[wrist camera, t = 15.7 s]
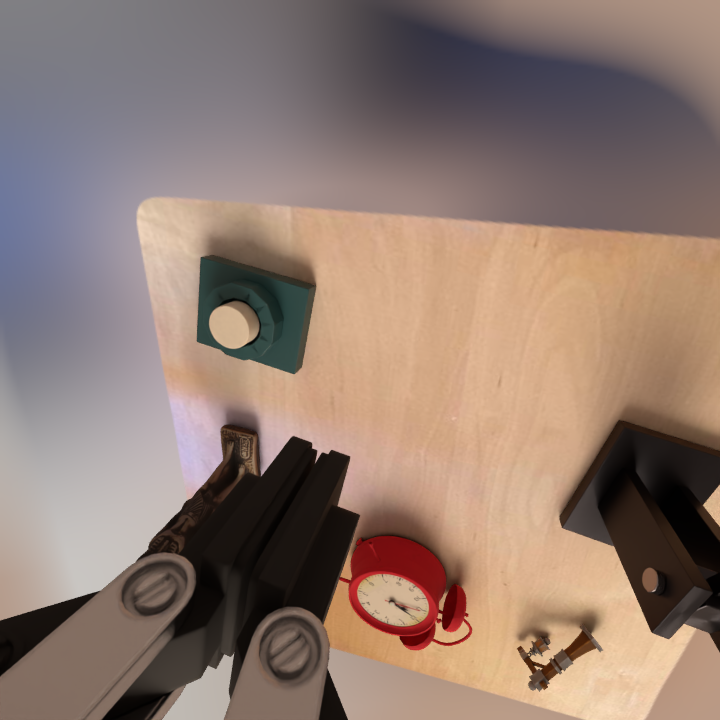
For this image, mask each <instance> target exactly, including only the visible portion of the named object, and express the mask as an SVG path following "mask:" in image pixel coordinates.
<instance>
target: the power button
mask: <svg viewBox="0 0 720 720" xmlns="http://www.w3.org/2000/svg"><path fill="white" fill-rule="evenodd" d="M209 327H210V330H211V333H212V335H213V337H214V338H215V339H216V341H217V342H219V343H220V344H221V345H223V346H224V347H227V348H231V349H236V348H240V347H242V346H244V345H245V344H247V343H248V342H250V341H252V340H253V339H254V338H255V337H256V336H257V334H258V332H259V319H258V316H257V314H256V313H255V311H254V310H253V309H252V308H251V307H250V306H249V305H247V304H246V303H243V302H240V301H232V302H229V303H227V304H224V305H222V306H219V307H217V308H216V309H214V311H213V312H212V313H211V315H210V319H209Z"/></svg>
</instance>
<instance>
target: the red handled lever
mask: <svg viewBox="0 0 720 720" xmlns="http://www.w3.org/2000/svg"><path fill="white" fill-rule="evenodd" d="M696 566H697V568H698V569H699V571H700V572H701V574H702V575H703V577H704V579H705V580H706V582H707V583H708V585H709V586H710V588H711V590H712V591H713V594H712V595H711V596H710V597H709V598H708V599H707V600H706V601H705V602H704V603H703V604H702V605H701V606H700V607H699V608H698V609H697V610H696V611H695V613H694V614H693V615H692V616H691V617H690V618H689V619H688V620H687V621H686V622H685V623H684V624H686V625H689V626H692V627H694V628H697V629H700V630H702V631H705V632H708V633H714V632H717V631H720V572H719V573H718V572H715V571H712V570H709V569H706V568H703V567H701V566H698V565H696Z"/></svg>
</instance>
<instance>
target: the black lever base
mask: <svg viewBox="0 0 720 720" xmlns="http://www.w3.org/2000/svg"><path fill="white" fill-rule="evenodd" d="M719 485H720V451H717V450H714V449H711V448H708V447H705V446H701V445H698V444H695V443H692V442H688V441H685V440H682V439H679V438H676V437H672V436H669V435H666V434H663V433H660V432H656V431H653V430H650V429H647V428H643V427H640V426H637V425H634V424H631V423H627V422H624V421H621V420H619V422H618V423H617V425H616V426H615V428H614V430H613V431H612V433H611V435H610V436H609V438H608V440H607V441H606V443H605V444H604V446H603V448H602V449H601V451H600V453H599V454H598V456H597V458H596V459H595V461H594V462H593V464H592V466H591V467H590V469H589V471H588V472H587V474H586V476H585V477H584V479H583V480H582V482H581V484H580V485H579V487H578V489H577V490H576V492H575V494H574V495H573V497H572V498H571V500H570V502H569V503H568V505H567V507H566V508H565V510H564V512H563V513H562V515H561V516H560V518H559V519H560V523H561V526H562V528H564V529H566V530H569V531H572V532H575V533H578V534H580V535H583V536H586V537H589V538H592V539H594V540H597V541H600V542H603V543H606V544H608V545H611V546H614V547H615V549H616V551H617V554H618V556H619V558H620V561H621V563H622V565H623V568H624V570H625V572H626V575H627V577H628V579H629V581H630V584H631V586H632V588H633V591H634V593H635V595H636V598H637V600H638V602H639V605H640V607H641V609H642V612H643V614H644V616H645V618H646V621H647V623H648V625H649V628H650V630H651V632H652V633H654V634H656V635H659V636H661V637H664V638H667V639H670V638H671V637H672V636H673V635H674V634H675V633H676V631H677V630H678V629H679V628H680V627H681V626H682V625H683V624H684V623H685V622H686V621H687V620H688V619H689V618H690V617H691V616H692V615H693V614H694V613H695V611H696V610H697V609H698V608H699V607H700V606H701V605H702V604H703V603H704V602H705V601H706V600H707V599H708V598H709V597H710V596H711V595H712V594H713V591H712V590H711V588H710V586H709V585H708V583H707V582H706V580H705V579H704V577H703V575H702V574H701V572H700V571H699V569H698V568H697V566H696V565H698V566H701V567H703V568H706V569H709V570H712V571H715V572H718V573H719V572H720V527H719V525H718V524H717V523H716V522H715V520H714V519H713V518H712V517H711V515H710V514H709V513H708V511H707V510H706V509H705V508H704V506H703V504H704V503H705V502H706V501H707V499H708V498H709V497H710V496H711V494H712V493H713V492H714V491H715V490H716V488H717V487H718V486H719ZM709 634H710V636H711V638H712V639H713V641H714V643H715V644H716V646H717V648H718V650H719V652H720V631H717V632H714V633H709Z"/></svg>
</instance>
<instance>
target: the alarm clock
mask: <svg viewBox="0 0 720 720" xmlns="http://www.w3.org/2000/svg"><path fill="white" fill-rule="evenodd" d="M361 538H362V537H361ZM361 538H360V539H359V540H358V541H357V542H356V545H357V546H358V547H357V548H356V550H355V551H354V553H353V556H352V559H351V572H352V578H351V580H348V579H345V578H342V577H340V578H339V580H341V581H344V582H346V583H349V600H350V603H351V606H352V608H353V609H354V611H355V612H356V613H357V615H358V616H359V617H360V618H361V619H362V620H363V621H365V622H366V623H367V624H369V625H370V626H372V627H374V628H375V629H378V630H380V631H382V632H385V633H388V634H392V635H397V636H400V640H401V641H402V643H403V645H404V646H405V647H407V648H408V649H410V650H421V649H424V648H425V647H427V646H428V645H429V644H430V643H431V641H433V642H435V643H438V644H440V645H444V646H452V645H456V644H459V643H461V642H463V641H465V640H466V639H468V638H469V637H470V635H471V633H472V627H471V626H470V624H469V623H468V622H467V621H466V620H465V619H464V617H465V616H466V617H468V614H467V613H465V612H466V595H465V592H464V590H463V589H462V588H461V587H460V586H458V585H456V584H454V585H452V587H451V588H450V589H449V592H448V594H447V596H446V599H445V602H444V607H443V611H441V610H439V601H440V599H441V598H442V596H443V594H444V592H445V589H446V575H445V571H444V569H443V567H442V565H441V563H440V562H439V560H438V559H437V558H436V557H435V556H434V555H433V554H432V553H431V552H430V551H429V550H427V549H426V548H424V547H423V546H421V545H420V544H418V543H415V542H413V541H411V540H408V539H405V538H400V537H395V536H379V537H374V538H371V539H368V540H366V541H364V542H363V541H362V540H361ZM438 613H441V614H442V620H441V619H438V618H437V617H438ZM436 620H437V623H440V622H442V627H443V629H444V630H445V631H448V632H454V631H456V630H457V629H458V628H459V627H460V626H461V624H462V622H463V621H464V622H465V623H466V624H467V625H468V627H469V633H468V634H467V635H466V636H465V637H464V638H462V639H460V640H459V641H455V642H452V643H444V642H440V641H438V640H435V639H433V638H434V635H435V621H436Z"/></svg>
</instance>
